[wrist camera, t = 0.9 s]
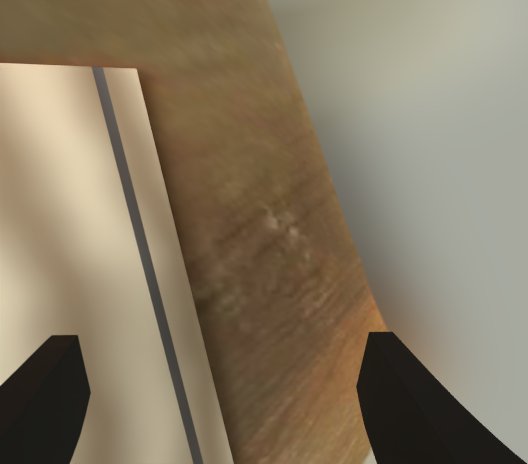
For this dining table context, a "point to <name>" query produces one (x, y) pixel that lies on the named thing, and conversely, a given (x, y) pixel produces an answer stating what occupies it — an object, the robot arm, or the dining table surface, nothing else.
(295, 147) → the dining table surface
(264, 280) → the dining table surface
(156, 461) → the pine board
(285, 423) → the dining table surface
